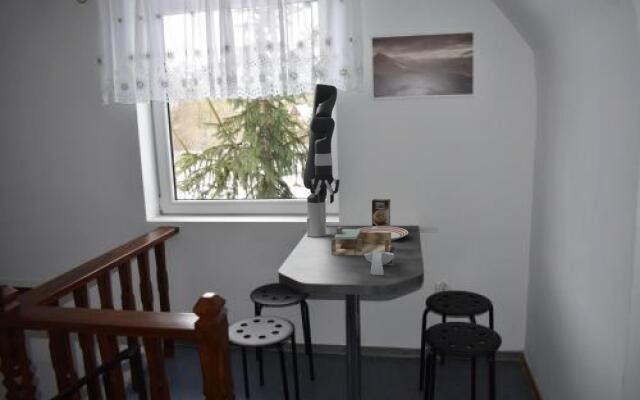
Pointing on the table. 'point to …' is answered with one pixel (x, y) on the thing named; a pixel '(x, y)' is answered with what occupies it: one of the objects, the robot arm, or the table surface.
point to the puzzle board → (364, 244)
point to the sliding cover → (347, 233)
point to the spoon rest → (378, 261)
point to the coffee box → (380, 212)
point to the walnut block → (348, 243)
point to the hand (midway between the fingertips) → (324, 203)
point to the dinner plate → (395, 231)
